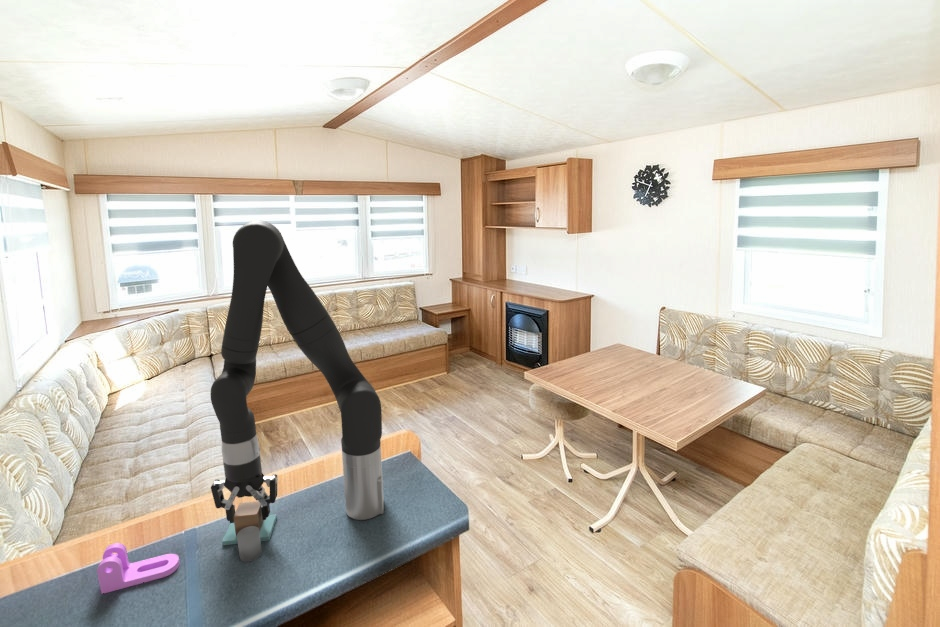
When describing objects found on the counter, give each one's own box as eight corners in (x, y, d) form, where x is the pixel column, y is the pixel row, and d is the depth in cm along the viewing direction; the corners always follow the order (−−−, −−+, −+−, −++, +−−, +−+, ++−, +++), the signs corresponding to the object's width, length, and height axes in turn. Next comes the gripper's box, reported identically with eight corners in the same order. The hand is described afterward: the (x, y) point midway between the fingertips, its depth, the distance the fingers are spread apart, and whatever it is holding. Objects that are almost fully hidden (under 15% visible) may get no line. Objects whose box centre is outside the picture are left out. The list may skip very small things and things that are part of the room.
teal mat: (276, 517, 117) (276, 514, 117) (269, 540, 110) (269, 536, 109) (233, 522, 116) (232, 518, 115) (222, 545, 108) (221, 541, 108)
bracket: (101, 594, 95) (95, 564, 93) (108, 574, 100) (102, 546, 98) (178, 573, 100) (173, 545, 98) (181, 556, 105) (176, 528, 103)
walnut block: (259, 533, 110) (256, 514, 109) (235, 535, 110) (233, 516, 108) (264, 519, 115) (262, 500, 114) (242, 521, 114) (239, 503, 113)
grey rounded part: (263, 546, 108) (261, 525, 106) (259, 560, 104) (256, 538, 102) (242, 548, 107) (240, 527, 106) (237, 563, 103) (234, 541, 101)
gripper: (200, 466, 103) (210, 533, 107) (271, 460, 105) (278, 526, 109) (212, 449, 110) (221, 512, 114) (278, 443, 113) (285, 506, 117)
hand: (249, 519), depth 112 cm, fingers open, 6 cm apart
